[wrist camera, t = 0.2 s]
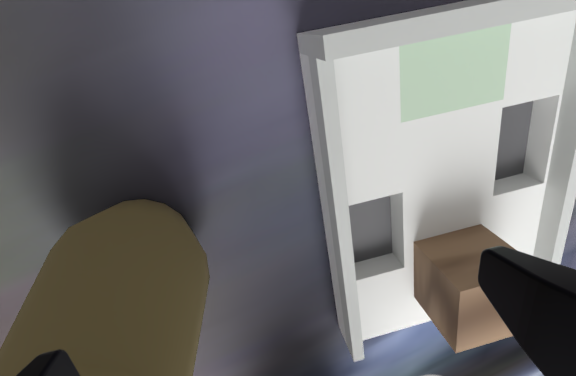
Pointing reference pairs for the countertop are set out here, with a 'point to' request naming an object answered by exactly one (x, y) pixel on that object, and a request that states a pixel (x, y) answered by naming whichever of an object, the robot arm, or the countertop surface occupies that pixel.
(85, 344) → the squeeze bottle
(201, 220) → the countertop surface
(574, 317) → the robot arm
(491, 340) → the block
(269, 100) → the countertop surface
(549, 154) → the board
